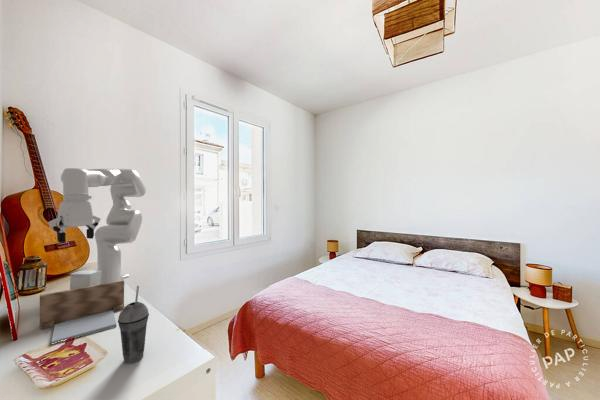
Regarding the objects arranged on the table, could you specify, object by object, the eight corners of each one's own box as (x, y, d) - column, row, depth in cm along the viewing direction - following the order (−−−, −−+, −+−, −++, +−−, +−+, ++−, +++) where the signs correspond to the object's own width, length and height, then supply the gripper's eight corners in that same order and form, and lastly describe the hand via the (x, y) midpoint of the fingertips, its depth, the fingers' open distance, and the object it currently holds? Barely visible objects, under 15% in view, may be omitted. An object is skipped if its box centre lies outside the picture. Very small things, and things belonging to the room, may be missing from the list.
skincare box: (68, 310, 97) (68, 273, 97) (81, 304, 103) (81, 269, 103) (89, 310, 98) (89, 273, 98) (101, 303, 104) (101, 269, 104)
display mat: (112, 312, 95) (112, 310, 95) (116, 326, 85) (116, 323, 85) (55, 327, 84) (55, 324, 84) (51, 344, 74) (51, 341, 74)
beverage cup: (111, 363, 65) (111, 290, 65) (137, 348, 72) (137, 281, 72) (129, 370, 63) (129, 293, 63) (155, 353, 70) (155, 284, 70)
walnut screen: (122, 304, 103) (122, 278, 103) (124, 308, 98) (124, 282, 98) (40, 323, 87) (40, 293, 87) (38, 330, 82) (38, 298, 82)
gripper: (93, 198, 108) (94, 236, 108) (42, 198, 91) (43, 243, 91) (105, 198, 105) (105, 237, 106) (54, 199, 89) (55, 245, 89)
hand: (76, 240), depth 99 cm, fingers open, 9 cm apart
